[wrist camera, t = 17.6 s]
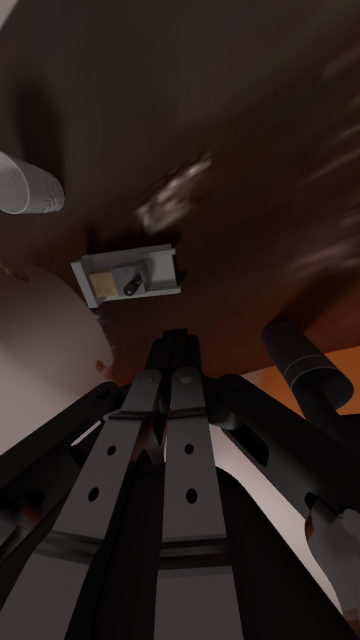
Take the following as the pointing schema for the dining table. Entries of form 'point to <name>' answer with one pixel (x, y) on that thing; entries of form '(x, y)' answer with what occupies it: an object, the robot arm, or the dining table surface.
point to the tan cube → (103, 282)
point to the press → (154, 256)
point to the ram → (130, 278)
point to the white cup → (27, 188)
